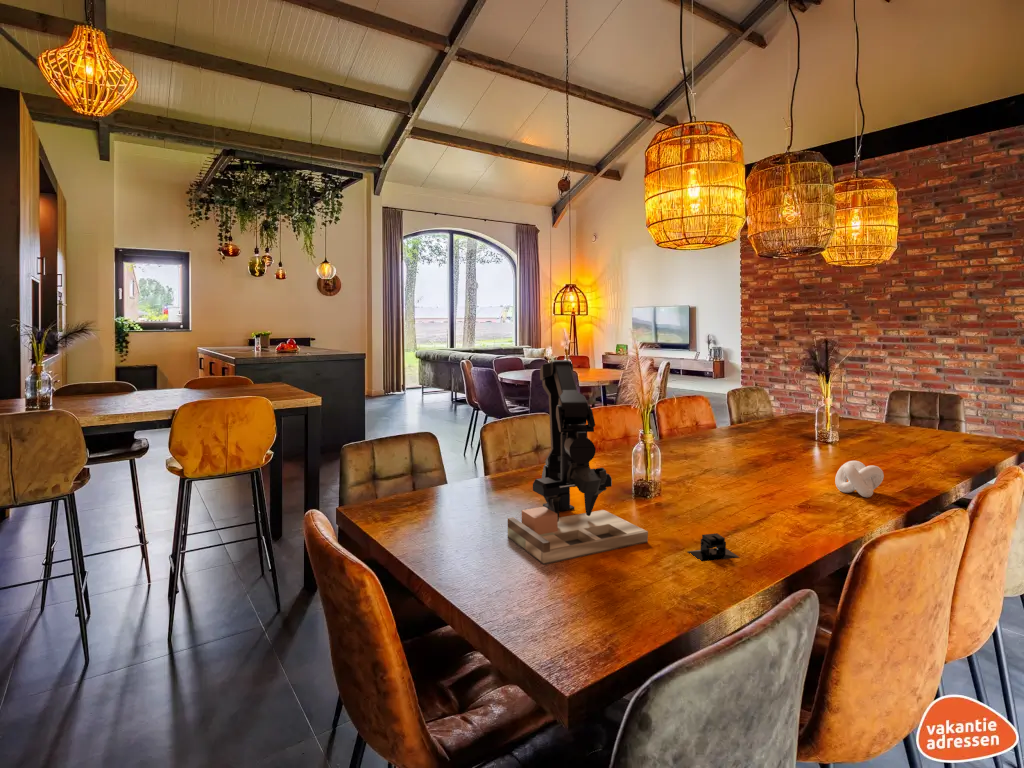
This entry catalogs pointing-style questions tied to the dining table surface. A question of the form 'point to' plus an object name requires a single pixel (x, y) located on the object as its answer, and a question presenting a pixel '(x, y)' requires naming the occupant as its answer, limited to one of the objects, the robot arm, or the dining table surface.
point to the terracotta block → (540, 520)
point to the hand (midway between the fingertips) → (572, 518)
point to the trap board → (577, 536)
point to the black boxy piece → (715, 553)
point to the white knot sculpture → (858, 478)
